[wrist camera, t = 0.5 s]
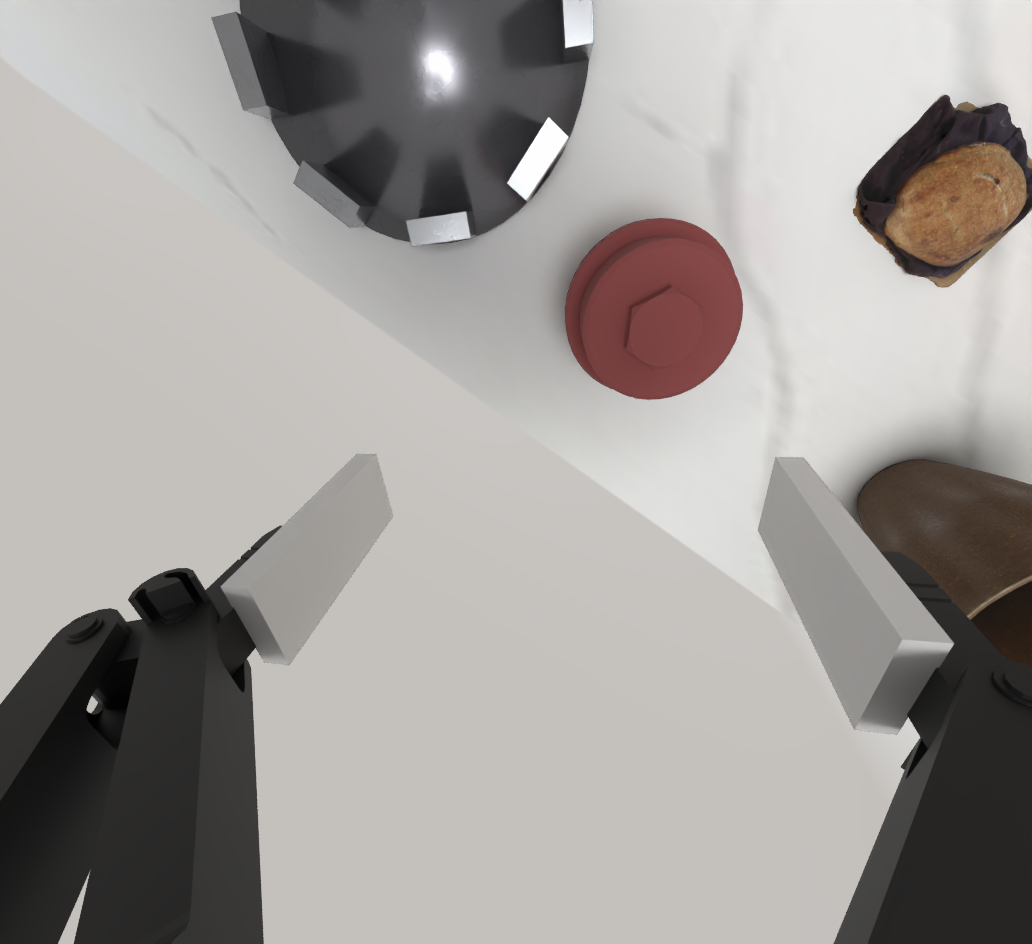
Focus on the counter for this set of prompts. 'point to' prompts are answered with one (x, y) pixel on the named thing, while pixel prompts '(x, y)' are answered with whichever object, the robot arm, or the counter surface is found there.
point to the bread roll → (948, 189)
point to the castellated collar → (415, 103)
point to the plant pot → (962, 541)
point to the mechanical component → (653, 308)
